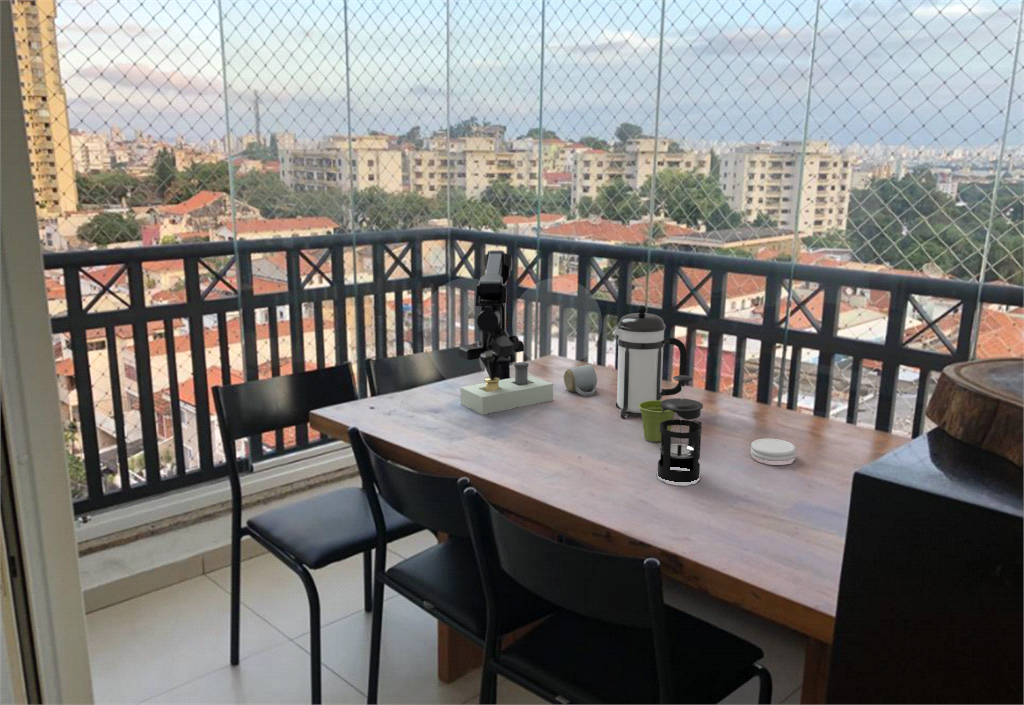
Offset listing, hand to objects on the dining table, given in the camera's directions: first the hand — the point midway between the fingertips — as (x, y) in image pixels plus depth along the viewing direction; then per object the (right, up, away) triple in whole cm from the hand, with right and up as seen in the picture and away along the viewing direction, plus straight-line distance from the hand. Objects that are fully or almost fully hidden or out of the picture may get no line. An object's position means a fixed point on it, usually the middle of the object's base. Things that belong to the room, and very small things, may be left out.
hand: (492, 378), depth 224 cm
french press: (+42, -20, -50) cm, 69 cm away
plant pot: (+42, -14, -26) cm, 51 cm away
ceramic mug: (+27, -5, +15) cm, 31 cm away
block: (+4, -7, +5) cm, 9 cm away
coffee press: (+42, -9, -5) cm, 43 cm away
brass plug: (0, -7, +2) cm, 8 cm away
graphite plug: (+8, -3, +6) cm, 11 cm away
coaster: (+66, -18, -39) cm, 79 cm away
